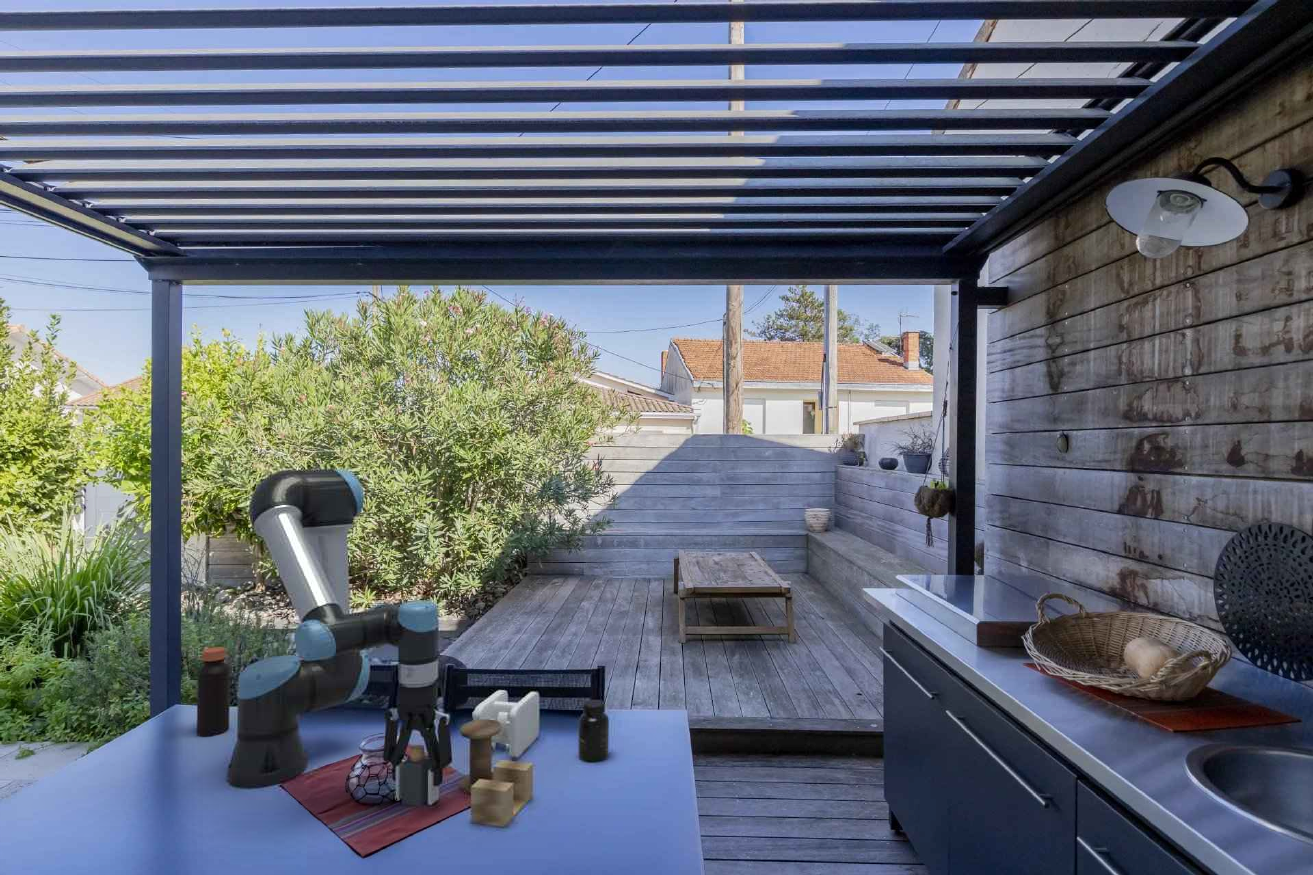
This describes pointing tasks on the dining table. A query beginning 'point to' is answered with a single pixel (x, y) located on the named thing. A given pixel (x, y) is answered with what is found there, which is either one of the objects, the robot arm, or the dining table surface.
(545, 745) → the dining table surface
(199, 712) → the vinegar
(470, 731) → the bobbin
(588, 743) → the supplement bottle
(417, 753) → the gray block with knob
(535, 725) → the cable organizer
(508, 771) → the wooden u-shaped block
